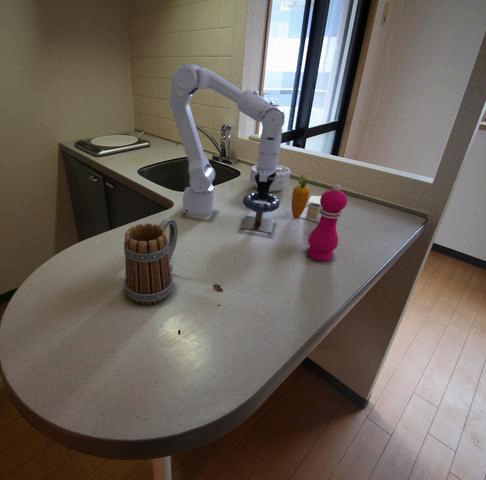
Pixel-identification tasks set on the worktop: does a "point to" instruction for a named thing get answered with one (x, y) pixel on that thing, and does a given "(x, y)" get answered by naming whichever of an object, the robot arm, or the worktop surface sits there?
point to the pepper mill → (327, 225)
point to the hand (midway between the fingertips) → (262, 196)
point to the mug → (149, 261)
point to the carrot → (300, 197)
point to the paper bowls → (279, 180)
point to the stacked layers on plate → (312, 209)
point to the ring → (259, 207)
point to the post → (258, 223)
